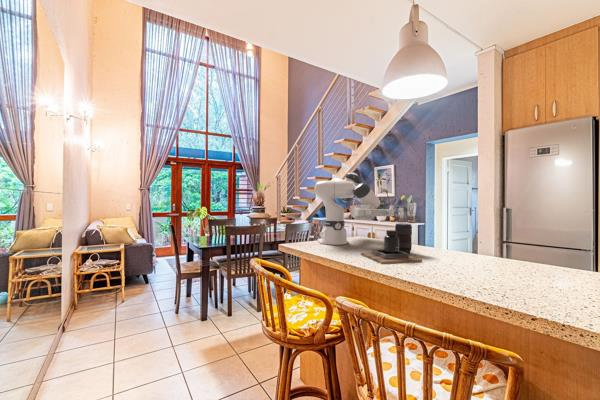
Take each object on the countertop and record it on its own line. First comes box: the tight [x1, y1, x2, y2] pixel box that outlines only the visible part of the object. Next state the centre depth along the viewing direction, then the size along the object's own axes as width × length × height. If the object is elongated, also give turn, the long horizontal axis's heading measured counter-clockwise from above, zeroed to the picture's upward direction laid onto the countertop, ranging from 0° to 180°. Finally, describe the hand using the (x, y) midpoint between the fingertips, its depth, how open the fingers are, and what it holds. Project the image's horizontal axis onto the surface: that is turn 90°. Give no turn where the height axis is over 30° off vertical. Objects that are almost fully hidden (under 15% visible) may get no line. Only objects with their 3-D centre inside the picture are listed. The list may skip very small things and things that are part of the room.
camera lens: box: [394, 223, 413, 255], centre depth 146 cm, size 8×8×15 cm
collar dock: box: [360, 248, 423, 265], centre depth 133 cm, size 20×20×3 cm
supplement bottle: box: [383, 229, 399, 254], centre depth 133 cm, size 7×7×12 cm
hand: (380, 212), depth 144 cm, fingers open, 8 cm apart
